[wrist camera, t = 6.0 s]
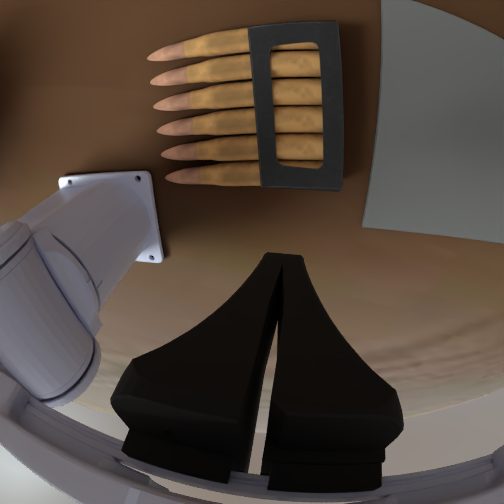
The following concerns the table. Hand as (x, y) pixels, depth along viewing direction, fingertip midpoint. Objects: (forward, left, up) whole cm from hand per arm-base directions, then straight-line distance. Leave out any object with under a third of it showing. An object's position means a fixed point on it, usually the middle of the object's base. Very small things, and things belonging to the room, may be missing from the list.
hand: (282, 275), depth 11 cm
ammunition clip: (+3, +6, -9) cm, 11 cm away
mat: (+13, +6, -10) cm, 18 cm away
